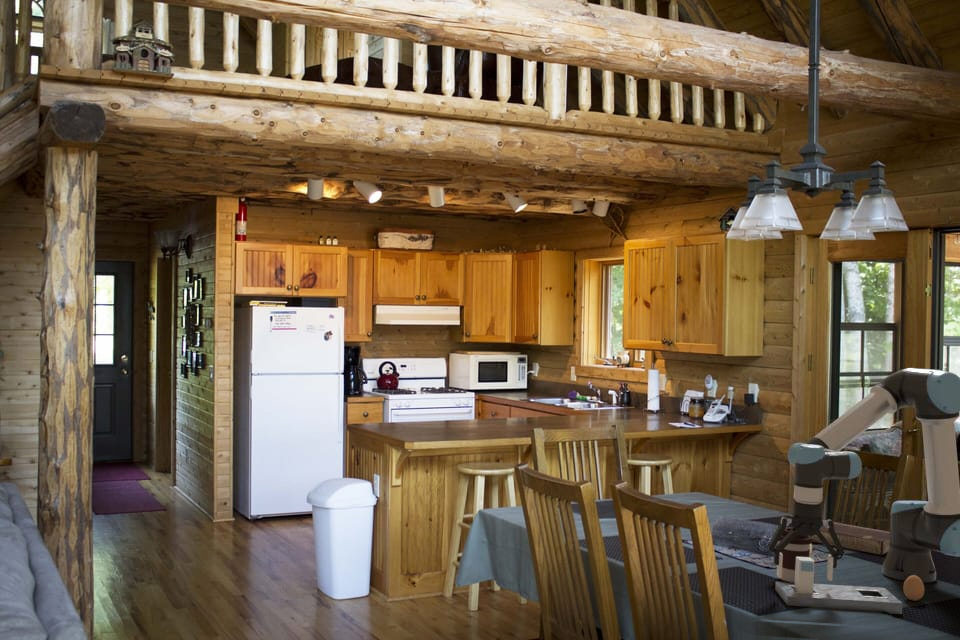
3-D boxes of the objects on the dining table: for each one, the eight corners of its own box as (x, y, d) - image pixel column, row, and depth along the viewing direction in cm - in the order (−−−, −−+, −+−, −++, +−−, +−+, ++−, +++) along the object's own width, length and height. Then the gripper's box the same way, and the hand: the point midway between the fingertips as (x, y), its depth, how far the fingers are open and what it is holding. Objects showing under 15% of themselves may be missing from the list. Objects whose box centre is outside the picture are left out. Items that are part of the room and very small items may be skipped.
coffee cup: (812, 587, 283) (814, 535, 283) (776, 583, 285) (779, 532, 284) (808, 577, 292) (810, 528, 292) (773, 574, 294) (775, 525, 294)
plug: (808, 596, 271) (810, 557, 270) (813, 601, 266) (815, 561, 266) (794, 596, 271) (795, 556, 271) (798, 601, 266) (800, 560, 266)
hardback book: (900, 547, 339) (901, 532, 339) (882, 556, 324) (883, 541, 324) (818, 531, 358) (819, 518, 357) (797, 540, 343) (798, 525, 343)
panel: (884, 598, 274) (884, 587, 274) (901, 614, 260) (902, 602, 260) (775, 591, 276) (775, 581, 276) (787, 607, 262) (787, 595, 262)
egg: (922, 604, 270) (924, 579, 270) (901, 600, 272) (902, 575, 272) (924, 599, 275) (925, 574, 274) (903, 596, 277) (905, 571, 277)
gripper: (850, 501, 271) (846, 577, 272) (758, 496, 273) (755, 571, 273) (858, 506, 264) (854, 584, 264) (764, 501, 265) (761, 579, 266)
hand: (804, 578), depth 269 cm, fingers open, 13 cm apart
